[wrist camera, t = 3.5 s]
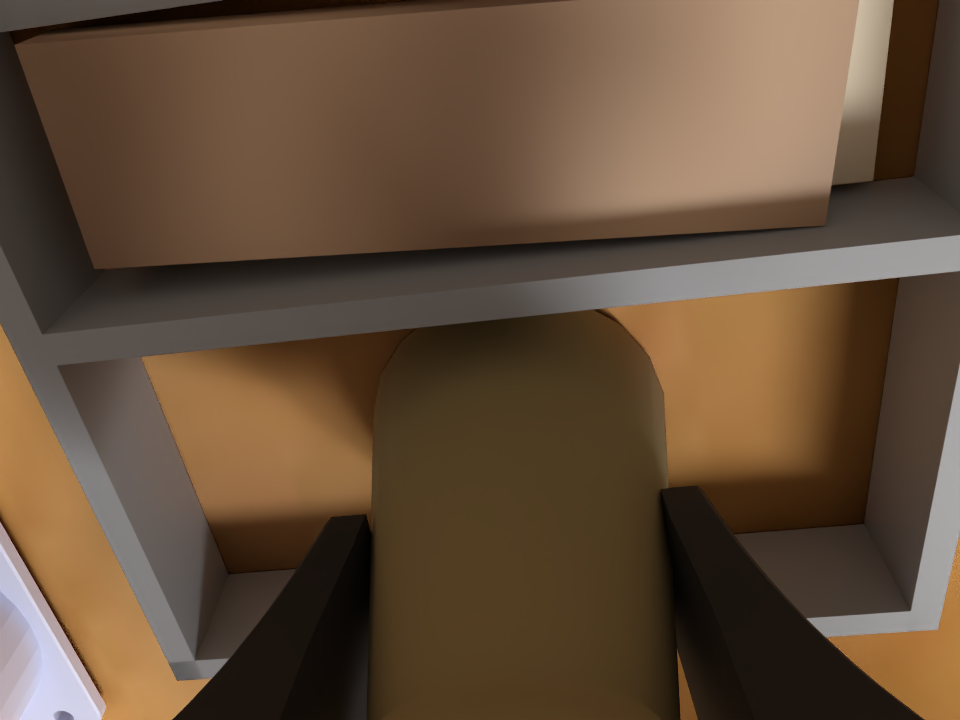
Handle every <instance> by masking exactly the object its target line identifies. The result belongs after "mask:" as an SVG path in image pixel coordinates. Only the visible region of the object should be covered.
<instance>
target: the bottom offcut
mask: <svg viewBox="0 0 960 720" xmlns="http://www.w3.org/2000/svg"><path fill="white" fill-rule="evenodd" d="M893 4H894V0H859V6H858V13H857V19H856V26H855V33H854V39H853V46H852V52H851V59H850V66H849V72H848V79H847V85H846V92H845V99H844V105H843V112H842V118H841V125H840V132H839V138H838V145H837V151H836V158H835V165H834V171H833V178H832V184H831V185H838V184H847V183H856V182H865V181H873V176H874V168H875V159H876V151H877V142H878V133H879V125H880V116H881V107H882V99H883V90H884V82H885V73H886V64H887V56H888V47H889V38H890V30H891V21H892V13H893Z"/></svg>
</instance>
